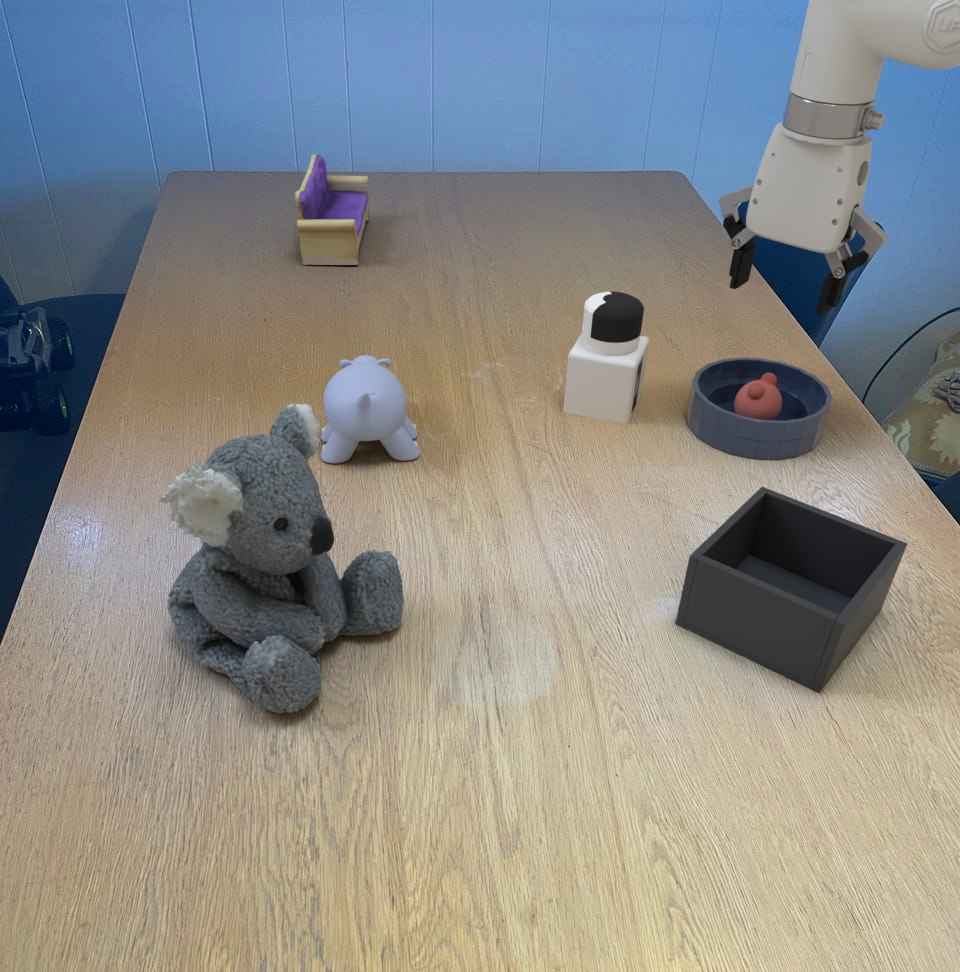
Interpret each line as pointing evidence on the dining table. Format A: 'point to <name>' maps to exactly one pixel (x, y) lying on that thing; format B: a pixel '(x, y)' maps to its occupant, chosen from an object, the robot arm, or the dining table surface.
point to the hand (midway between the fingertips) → (780, 297)
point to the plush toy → (759, 399)
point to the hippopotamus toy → (366, 411)
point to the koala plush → (271, 567)
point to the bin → (788, 586)
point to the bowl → (750, 436)
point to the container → (607, 359)
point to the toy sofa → (331, 212)
